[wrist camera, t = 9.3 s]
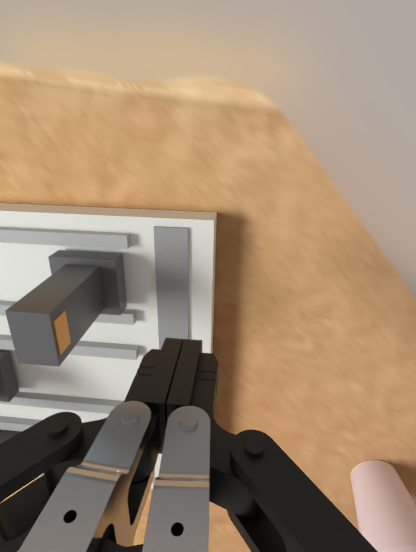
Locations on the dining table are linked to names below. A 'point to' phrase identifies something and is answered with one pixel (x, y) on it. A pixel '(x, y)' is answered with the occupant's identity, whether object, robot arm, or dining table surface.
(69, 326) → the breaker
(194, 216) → the panel
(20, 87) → the dining table surface
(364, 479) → the smoothie
